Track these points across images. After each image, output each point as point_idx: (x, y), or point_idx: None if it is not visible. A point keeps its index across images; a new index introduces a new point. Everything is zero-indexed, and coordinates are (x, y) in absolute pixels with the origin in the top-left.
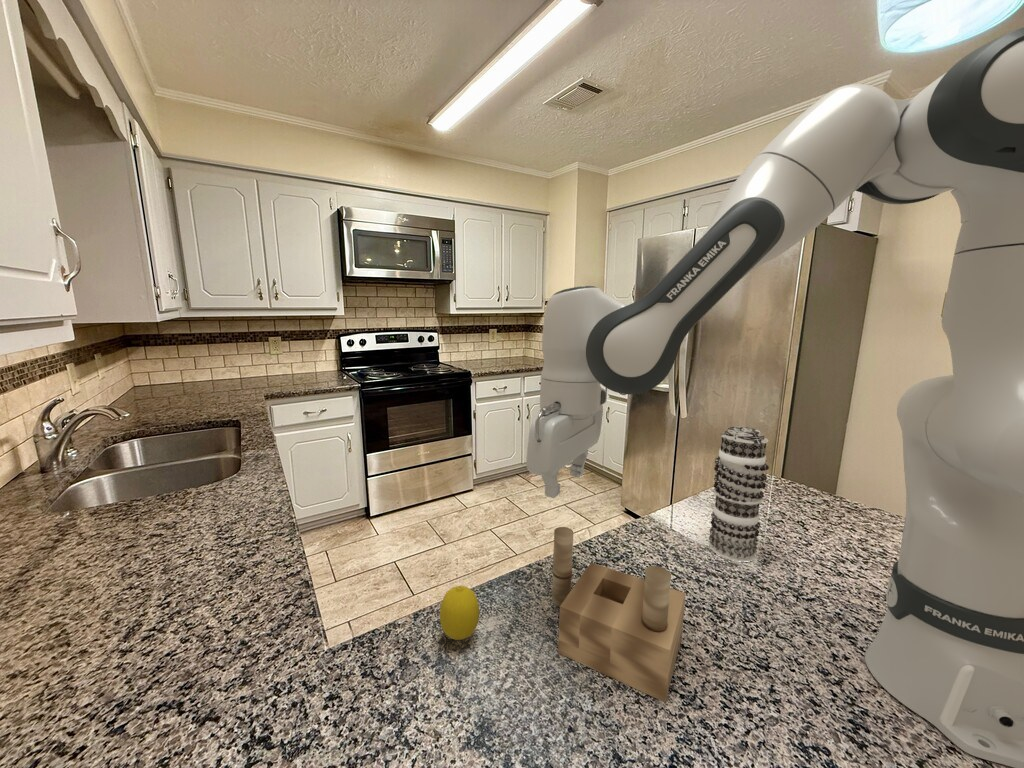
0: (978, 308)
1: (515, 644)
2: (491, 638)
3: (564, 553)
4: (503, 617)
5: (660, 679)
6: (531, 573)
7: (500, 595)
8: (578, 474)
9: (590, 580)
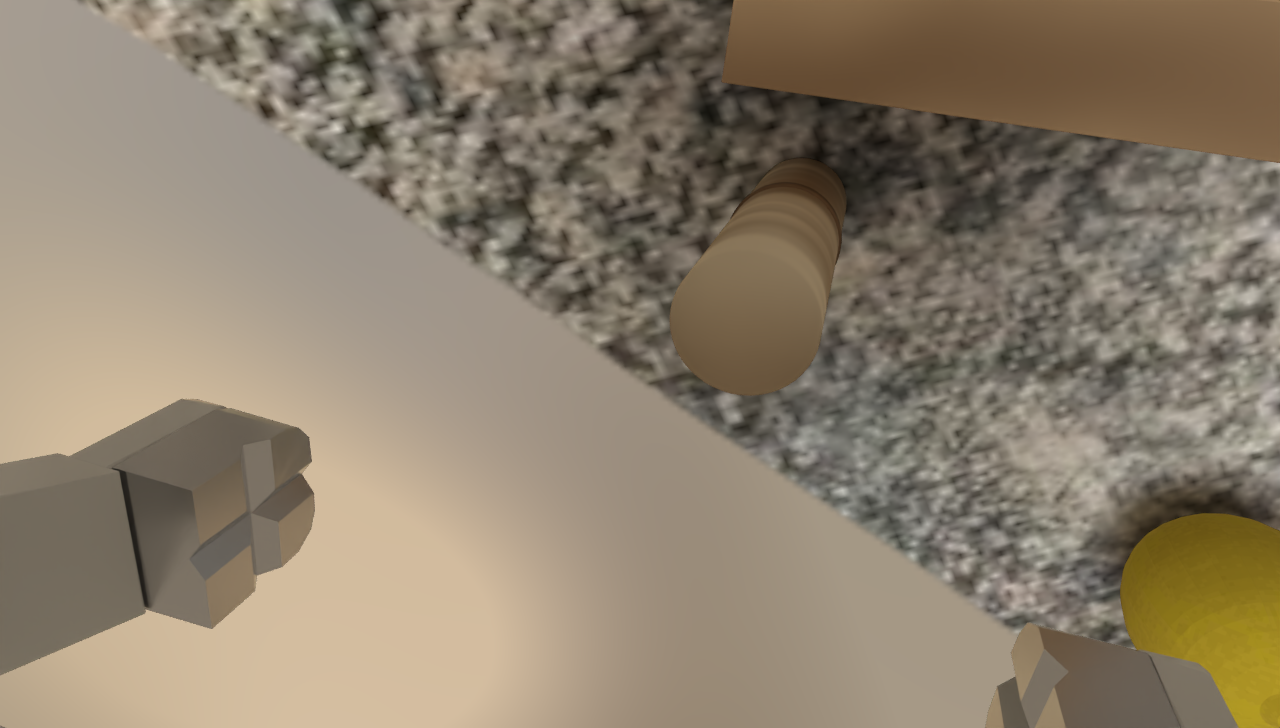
0: None
1: (1165, 323)
2: (1153, 426)
3: (826, 262)
4: (1003, 415)
5: None
6: (659, 380)
7: (862, 464)
8: (278, 458)
9: (934, 36)
